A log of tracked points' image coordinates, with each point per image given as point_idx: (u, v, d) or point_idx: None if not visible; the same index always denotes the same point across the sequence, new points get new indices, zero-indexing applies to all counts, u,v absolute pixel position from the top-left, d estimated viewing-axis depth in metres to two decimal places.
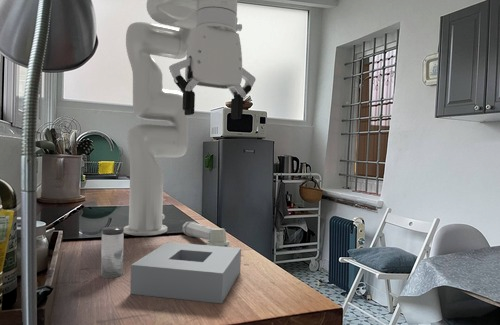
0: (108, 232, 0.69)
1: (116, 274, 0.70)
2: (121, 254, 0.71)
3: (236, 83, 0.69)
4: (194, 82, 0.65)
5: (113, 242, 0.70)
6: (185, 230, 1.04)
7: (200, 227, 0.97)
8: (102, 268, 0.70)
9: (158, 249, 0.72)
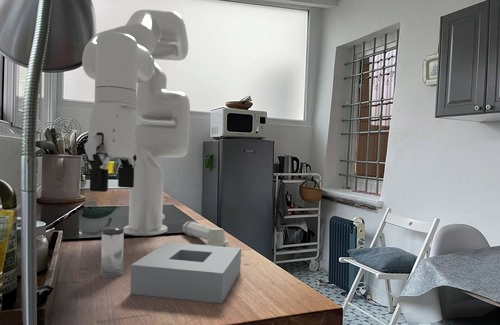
0: (108, 232, 0.69)
1: (116, 274, 0.70)
2: (121, 254, 0.71)
3: (132, 156, 0.74)
4: (107, 159, 0.66)
5: (113, 242, 0.70)
6: (185, 230, 1.05)
7: (200, 227, 0.97)
8: (102, 268, 0.70)
9: (158, 249, 0.72)
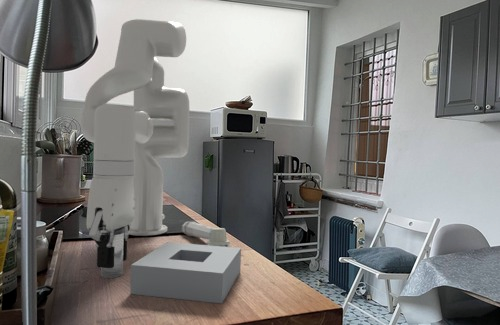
0: None
1: (116, 274, 0.70)
2: (121, 254, 0.71)
3: (131, 221, 0.75)
4: (111, 236, 0.69)
5: (113, 242, 0.70)
6: (185, 230, 1.05)
7: (200, 227, 0.97)
8: (102, 268, 0.70)
9: (158, 249, 0.72)
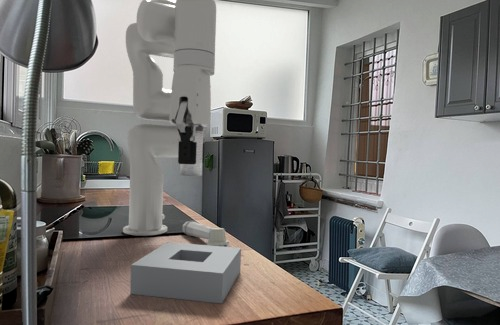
0: None
1: (197, 173, 0.67)
2: (201, 153, 0.68)
3: (208, 124, 0.71)
4: (194, 130, 0.65)
5: None
6: (185, 230, 1.05)
7: (200, 227, 0.98)
8: (182, 166, 0.67)
9: (158, 249, 0.72)
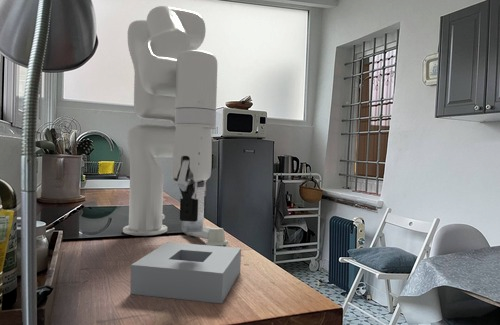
0: None
1: (199, 229, 0.67)
2: (203, 208, 0.68)
3: (209, 177, 0.72)
4: (196, 188, 0.66)
5: None
6: None
7: None
8: (184, 222, 0.67)
9: (158, 249, 0.72)
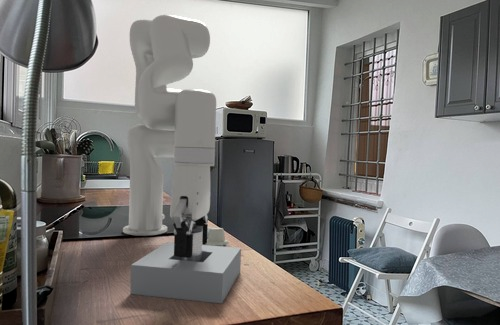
0: None
1: None
2: (201, 253, 0.69)
3: None
4: (191, 224, 0.64)
5: (194, 241, 0.67)
6: None
7: None
8: None
9: (158, 249, 0.72)
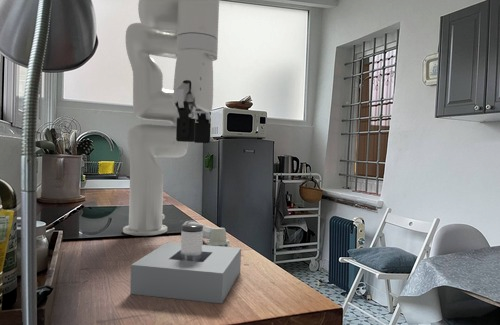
0: (189, 229, 0.67)
1: None
2: (201, 252, 0.69)
3: (210, 110, 0.71)
4: (194, 109, 0.63)
5: (194, 240, 0.67)
6: None
7: None
8: None
9: (158, 249, 0.72)
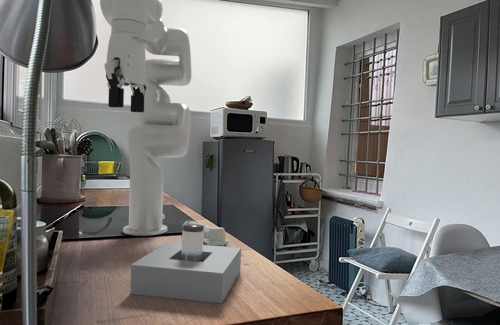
0: (190, 229, 0.67)
1: None
2: (201, 252, 0.69)
3: (143, 84, 0.86)
4: (123, 80, 0.78)
5: (194, 240, 0.67)
6: None
7: None
8: None
9: (158, 249, 0.72)
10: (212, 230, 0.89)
